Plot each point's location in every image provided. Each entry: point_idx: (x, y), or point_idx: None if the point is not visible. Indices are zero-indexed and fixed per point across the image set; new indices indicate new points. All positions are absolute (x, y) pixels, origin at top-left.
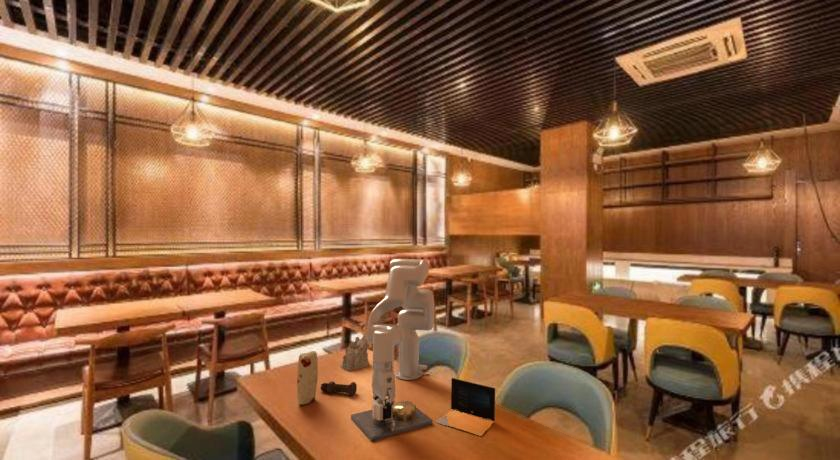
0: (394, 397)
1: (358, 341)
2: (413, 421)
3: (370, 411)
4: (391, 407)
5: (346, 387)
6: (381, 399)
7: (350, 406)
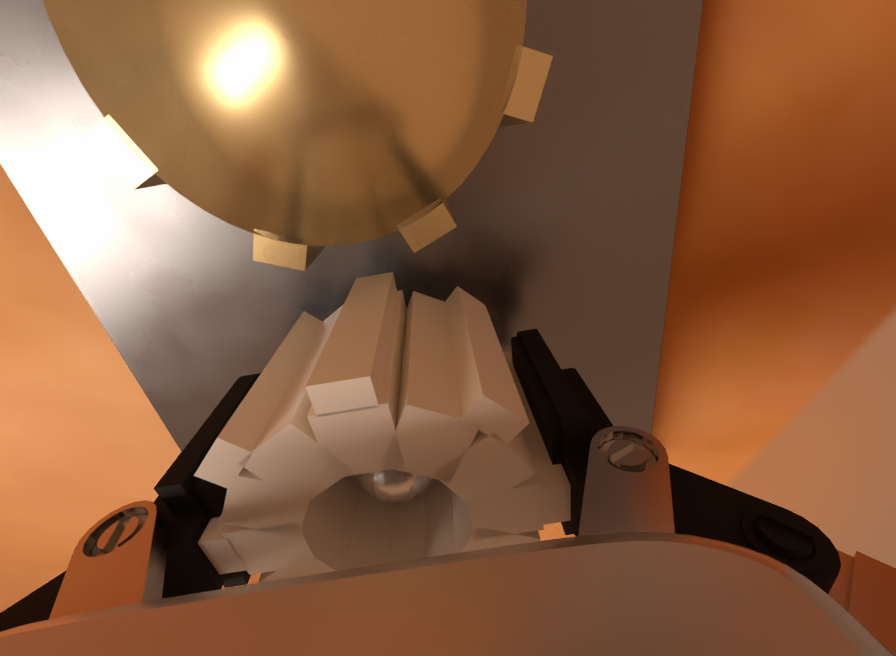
0: (806, 581)
1: None
2: None
3: (190, 415)
4: (582, 409)
5: None
6: (278, 526)
7: (9, 495)
